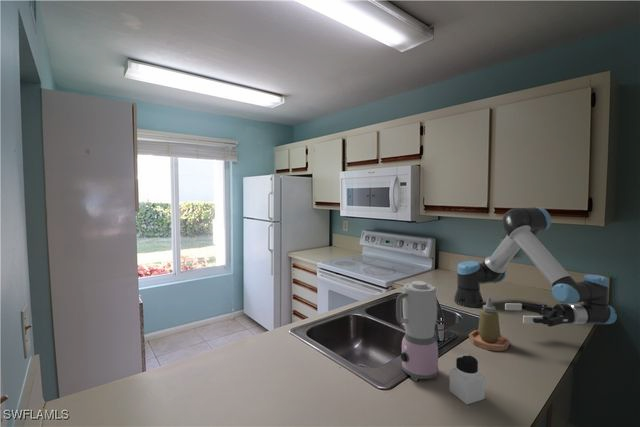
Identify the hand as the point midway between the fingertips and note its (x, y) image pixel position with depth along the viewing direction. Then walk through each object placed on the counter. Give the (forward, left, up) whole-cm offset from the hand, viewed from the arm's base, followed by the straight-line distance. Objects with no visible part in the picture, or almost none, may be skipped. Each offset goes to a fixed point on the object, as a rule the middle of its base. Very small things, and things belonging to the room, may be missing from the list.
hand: (513, 312), depth 124 cm
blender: (+24, -45, -13) cm, 53 cm away
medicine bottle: (+35, -32, -13) cm, 49 cm away
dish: (0, -10, -13) cm, 16 cm away
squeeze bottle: (0, -10, -12) cm, 16 cm away
